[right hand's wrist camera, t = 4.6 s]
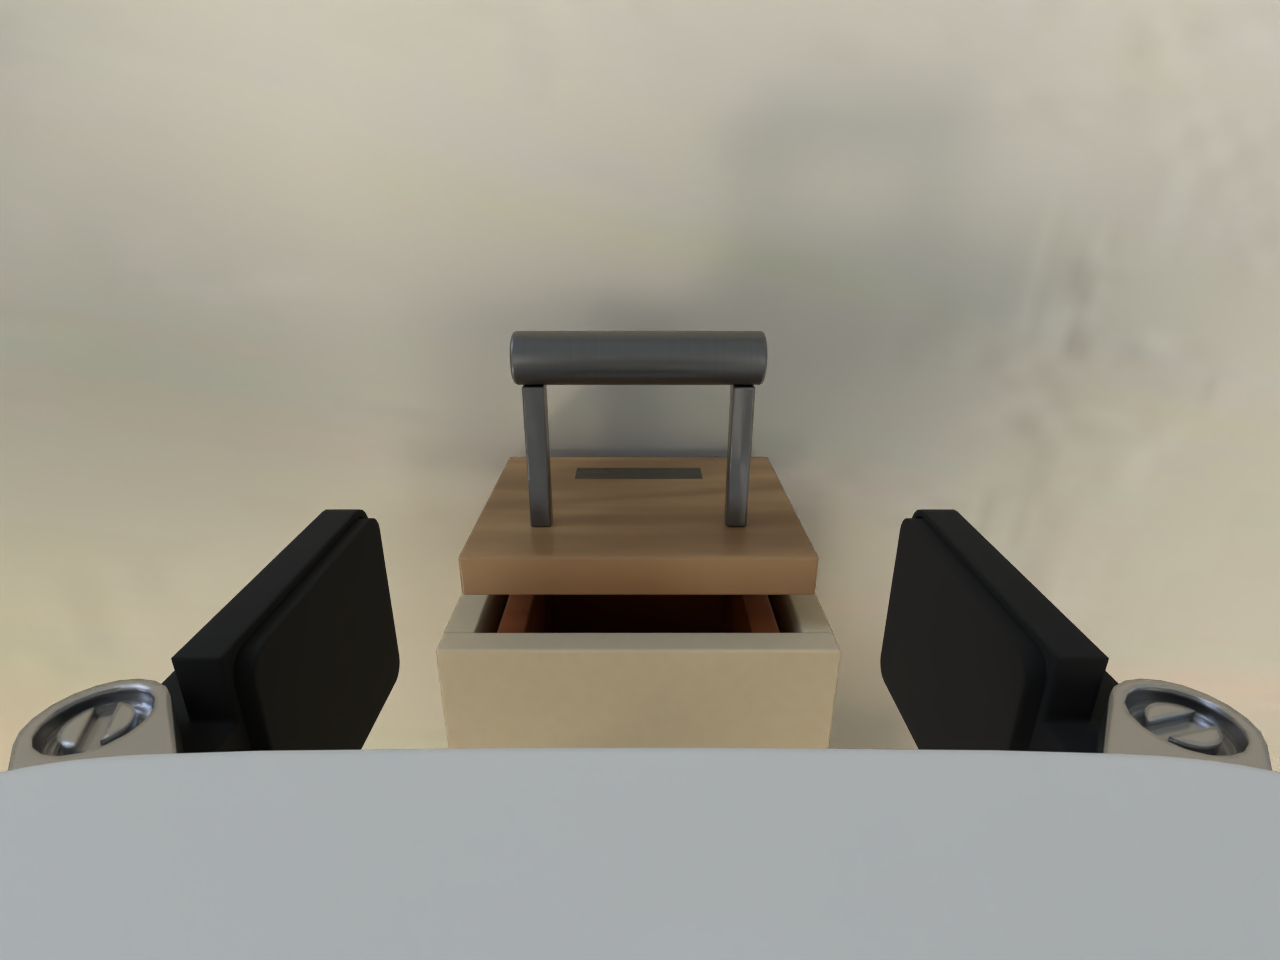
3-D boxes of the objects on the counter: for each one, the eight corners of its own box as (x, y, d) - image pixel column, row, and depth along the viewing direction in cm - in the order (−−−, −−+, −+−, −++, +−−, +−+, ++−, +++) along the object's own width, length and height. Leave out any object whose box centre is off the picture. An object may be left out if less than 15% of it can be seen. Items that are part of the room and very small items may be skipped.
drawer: (498, 302, 24) (434, 346, 16) (779, 302, 24) (842, 346, 16) (527, 708, 30) (491, 872, 23) (749, 708, 30) (785, 872, 23)
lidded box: (502, 502, 28) (434, 650, 18) (775, 502, 28) (842, 649, 18) (522, 755, 32) (476, 973, 23) (755, 755, 32) (800, 972, 23)
